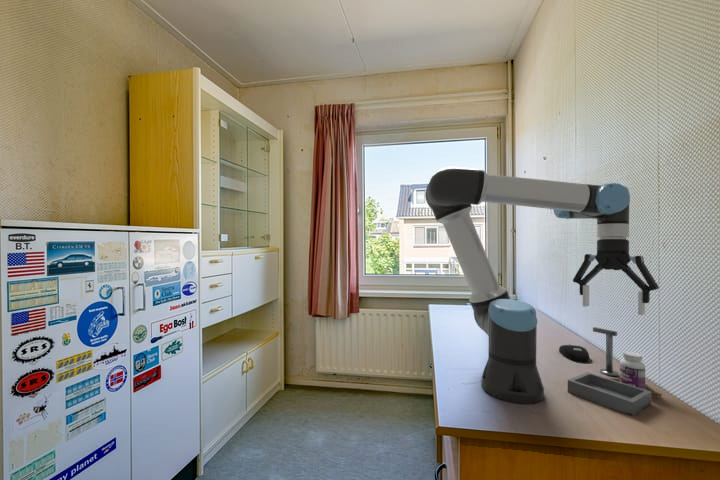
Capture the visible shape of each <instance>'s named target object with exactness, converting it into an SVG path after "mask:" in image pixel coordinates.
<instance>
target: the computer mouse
mask: <svg viewBox="0 0 720 480" xmlns="http://www.w3.org/2000/svg"><path fill="white" fill-rule="evenodd" d="M558 351H559V353H560V354H561V355H562V356H563V357H565V358H566V359H568V360H570V361H572V362H576V363H580V364H581V363H582V364H588V363H590V355H589V354H590V353H589V352H588V349H586V347H583V346H581V345H575V344H574V345H573V344H572V343H569V344H563V345H560V346H559V348H558Z"/></svg>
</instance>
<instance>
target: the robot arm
mask: <svg viewBox="0 0 720 480" xmlns="http://www.w3.org/2000/svg"><path fill="white" fill-rule="evenodd" d="M424 194H425V200H426V203H427V205H428V206H429V208H430V209H431V211H432V214H433V215H434V218H435V220H436V222H437V223H440V224H442V225H443V227H444V229H445V232H446V234H447V236H448V239H449V242H450V244H451V247H452V249H453V252H454V253H455V256H456V259H457V261H458V264H459V266H460V268H461V271H462V274H463V275H464V278H465V281H466V282H467V283H466V284H467V285H468V288H469V290H470V292H471V295H470V298H469V299H468V300H469V303H470V306H471V308H472V310H473V317H474V321H475V323H476V324H477V326H478V327H479V328H480V330H482V331H483V332H484V333H485V334H486V335H487V336H488V357H487V362H486V363H485V367H484V369H483V372H482V375H481V388H482V389H483V390H484V391H485V392H486V393H487V394H489V395H490V396H493V397H495V398H497V399H500V400H503V401H506V402H511V403H516V404H536V403H539V402H541V401H543V400H544V397H545V392H544V391H545V388H544V385H543V381H542V378H541V375H540V372H539V369H538V366H537V334H538V333H537V330H538V329H537V326H538V318H537V311H536V308H535V307H534V306H533V305H532V304H530V303H527V302H525V301H520V300H518V299H512V298H511V297H510V294H509V292H508V289H507V288H506V287H505V286H502V285H500V284H499V282H498V279H497V277H496V274H495V272H494V270H493V266H492V264H491V263H490V260H489V258H488V256H487V253H486V250H485V249H484V246H483V243H482V241H481V239H480V236H479V234H478V231H477V229H476V227H475V225H474V222H473V219H472V217H471V215H470V213H471V211H472V208H473V206H474V205H476V206H478V205H480V204H481V203H483V202H484V203H490V204H491V203H492V204H500V205H501V204H502V205H508V206H509V205H510V206H519V207H526V208H527V207H528V208H529V207H530V208H539V209H547V210H549V209H550V210H553V213H554V215H555V217H556V218H558V219H567V220H570V219H577V220H578V219H584V220H587V219H591V220H592V219H593V220H595V219H596V225H597V226H596V237H597V238H598V239H597V240H596V254H595V255H594V254H591V253H585V255H584V259H583V261H582V263H581V265H580V267H579V268H578V270H577V272H576V274H575V275H574V277H573V279H572V282H573V283H576V284H578V285H579V295H580V296H582V307H589V306H590V284H588V283H590V281H591V280H593V278H595V277H596V276H597V275H598V274H599V273H600V272H601V271H602V270H607V271H609V270H611V271H622V272H624V273H625V275H626V276H627V277H629V278H630V279H631V281H632V282H633V283H634V284H635V285H636V286H637V287H638V288H639V289H640V290H639V291H637V292H638V293H637V302H638V303H637V304H638V305H637V315H638V316H643V315H645V314H646V312H645V311H646V304H649V303H650V298H651V297H650V296H651V295H650V292H651V291H656V290H658V289H659V285H658V283H657V282H656V281H655V279H654V277H653V275H652V274H651V272H650V270H649V269H648V267H647V266H646V264H645V259H644V258H645V257H644V256H643V255H633V256H630V240H629V239H628V238H630V202H631V194H630V191H629V187H627V186H625V185H623V184H620V183H616V182H615V183H614V182H611V183H603V184H601V185H600V184H599V185H598V184H587V183H586V184H585V183H579V182H567V181H558V180H547V179H538V178H527V177H521V176H520V177H518V176H511V175H509V176H508V175H497V174H489V173H488V172H486V171H485V170H484V169H478V168H477V169H476V168H468V167H459V166H448V167H444V168H441V169H439V170H438V171H436V172H435V173H434V174H433V175H432V176H431V178H430V180H429V183H427V185H426V189H425V193H424ZM472 205H473V206H472ZM594 260H595V261H596V262H597V264H596V265H595V266H594V267H593V268H592V269H591V270H590V271H589V272H588V273H587V274H586V272H587V270H588V269H589V267H590V265H591V264H592V262H594ZM631 261H632V262H633V264H635V265H636V266H637V269H638V270H639V272H640V274H641V275H642V277H643V279H644V280H645V281H644V280H642V278H641V277H640V276H639V275H638V274H637V273H636V272H634V270H633V269H632V268H631V267H630V266H629V265H628V264H629V263H630V262H631ZM585 274H586V275H585ZM584 275H585V276H584ZM645 282H646V283H645Z"/></svg>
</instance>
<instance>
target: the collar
mask: <svg viewBox="0 0 720 480" xmlns="http://www.w3.org/2000/svg"><path fill="white" fill-rule="evenodd" d="M605 378H609V379H612V380H615V381H618V382H620V377H618V378H617V377H610V376H608V377H607V376H605ZM645 390H648V391H651V398H658V399H662V398H663V397H662V393H660V392H659V391H658V390H656V389H654V388H653V387H651V386H650V385H648V384H647V383H645Z"/></svg>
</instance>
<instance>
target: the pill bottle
mask: <svg viewBox="0 0 720 480" xmlns="http://www.w3.org/2000/svg"><path fill="white" fill-rule="evenodd" d="M622 357H623V358H621V359H620V360H619V379H620V382H622V383H625V384H628V385H631V386H635V387H638V388H641V389H644V390H646V389H645V384H646V365H645V364H644V363H643V362H642V361H643V355H642V354H640V353H636V352H634V351H633V352H632V351H623V353H622Z"/></svg>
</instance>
